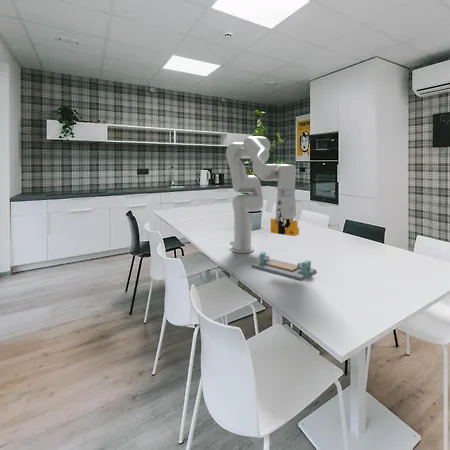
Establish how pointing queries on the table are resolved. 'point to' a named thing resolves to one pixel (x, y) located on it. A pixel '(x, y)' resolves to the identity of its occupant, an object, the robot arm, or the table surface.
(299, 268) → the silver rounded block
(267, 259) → the short metal cylinder
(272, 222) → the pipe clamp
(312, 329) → the table surface
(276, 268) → the stand
